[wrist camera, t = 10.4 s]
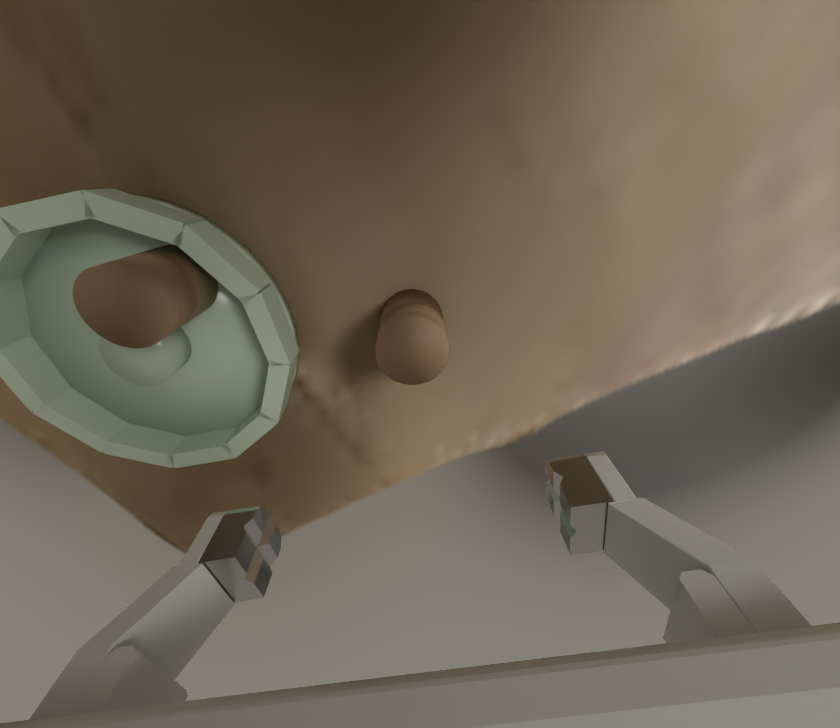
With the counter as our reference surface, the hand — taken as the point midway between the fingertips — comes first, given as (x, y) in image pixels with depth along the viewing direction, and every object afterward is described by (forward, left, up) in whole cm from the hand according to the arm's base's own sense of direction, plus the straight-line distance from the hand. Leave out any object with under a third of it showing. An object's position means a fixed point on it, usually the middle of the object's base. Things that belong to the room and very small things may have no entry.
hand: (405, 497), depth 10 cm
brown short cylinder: (0, 0, -15) cm, 15 cm away
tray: (+16, -2, -15) cm, 22 cm away
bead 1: (+12, -5, -14) cm, 19 cm away
